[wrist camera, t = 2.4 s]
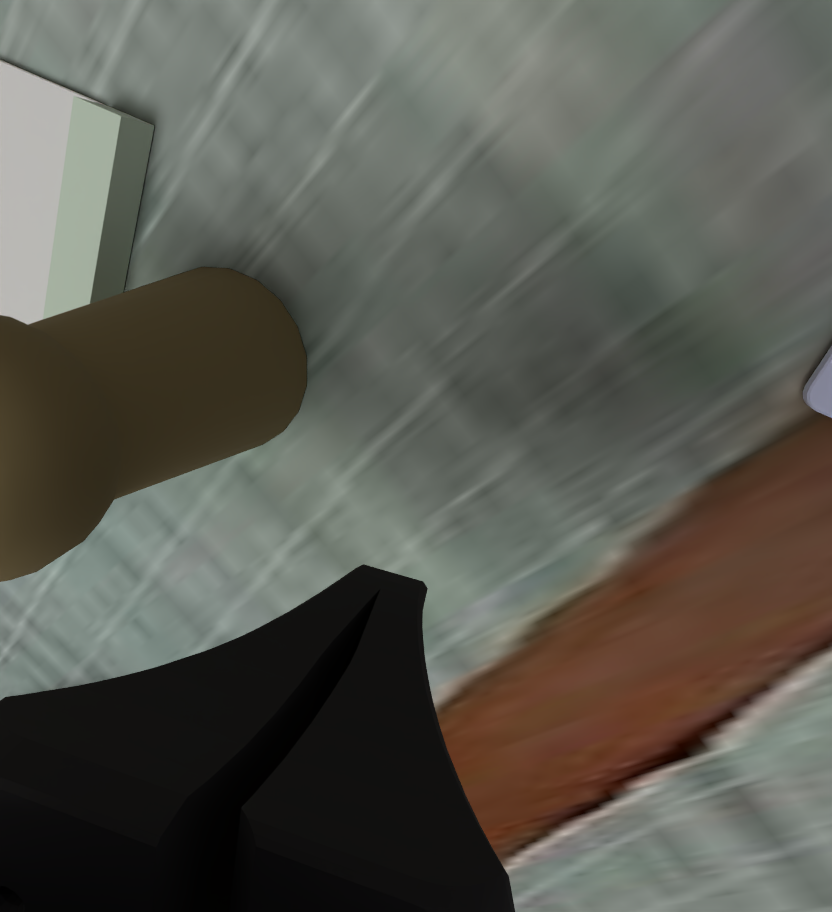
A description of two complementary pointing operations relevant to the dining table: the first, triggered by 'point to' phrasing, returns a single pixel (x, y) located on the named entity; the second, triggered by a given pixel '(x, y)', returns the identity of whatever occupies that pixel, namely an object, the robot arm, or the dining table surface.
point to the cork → (135, 400)
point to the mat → (29, 185)
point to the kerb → (96, 205)
